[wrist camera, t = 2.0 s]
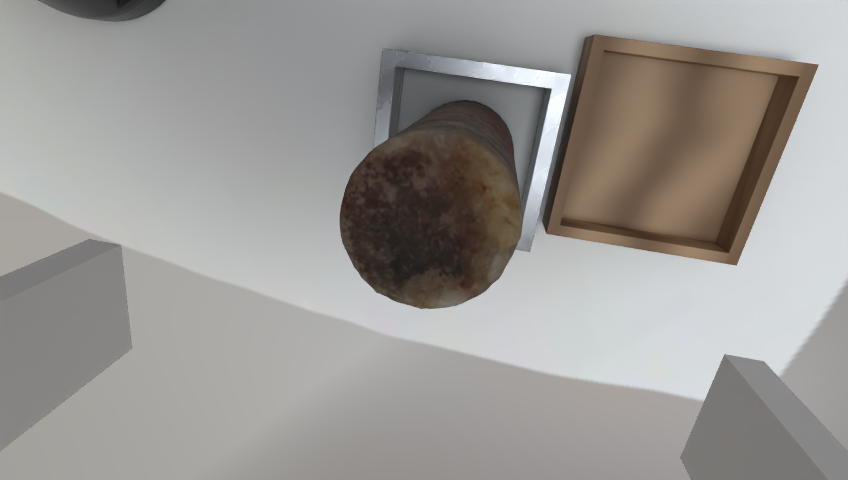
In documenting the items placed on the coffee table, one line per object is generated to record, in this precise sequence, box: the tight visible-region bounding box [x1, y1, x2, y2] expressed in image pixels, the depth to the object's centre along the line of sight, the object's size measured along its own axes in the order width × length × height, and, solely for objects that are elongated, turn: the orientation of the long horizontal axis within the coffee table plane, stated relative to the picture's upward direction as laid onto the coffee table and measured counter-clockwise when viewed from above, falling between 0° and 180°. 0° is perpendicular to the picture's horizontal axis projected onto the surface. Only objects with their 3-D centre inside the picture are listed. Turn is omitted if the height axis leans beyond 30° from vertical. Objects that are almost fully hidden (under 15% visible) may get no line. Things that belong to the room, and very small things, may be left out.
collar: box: [373, 48, 571, 252], centre depth 35 cm, size 12×12×4 cm
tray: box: [542, 35, 818, 265], centre depth 33 cm, size 14×14×3 cm
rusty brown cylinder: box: [340, 100, 522, 309], centre depth 27 cm, size 8×7×20 cm
